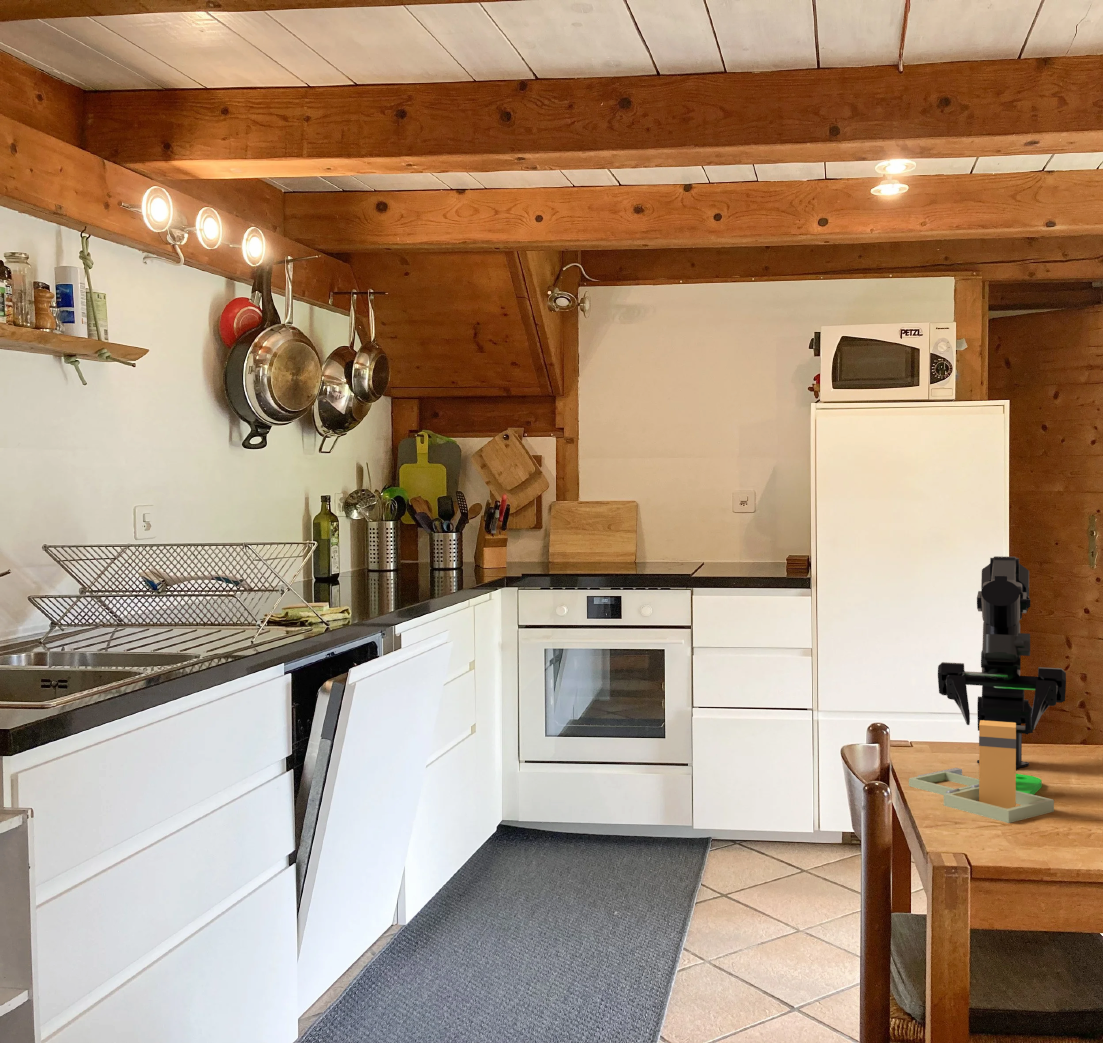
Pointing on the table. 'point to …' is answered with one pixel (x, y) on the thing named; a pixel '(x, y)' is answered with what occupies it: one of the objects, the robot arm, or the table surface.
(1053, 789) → the table surface
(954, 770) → the stay rod
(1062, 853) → the table surface
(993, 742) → the block
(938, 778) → the lid
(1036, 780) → the mechanical part
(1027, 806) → the case
